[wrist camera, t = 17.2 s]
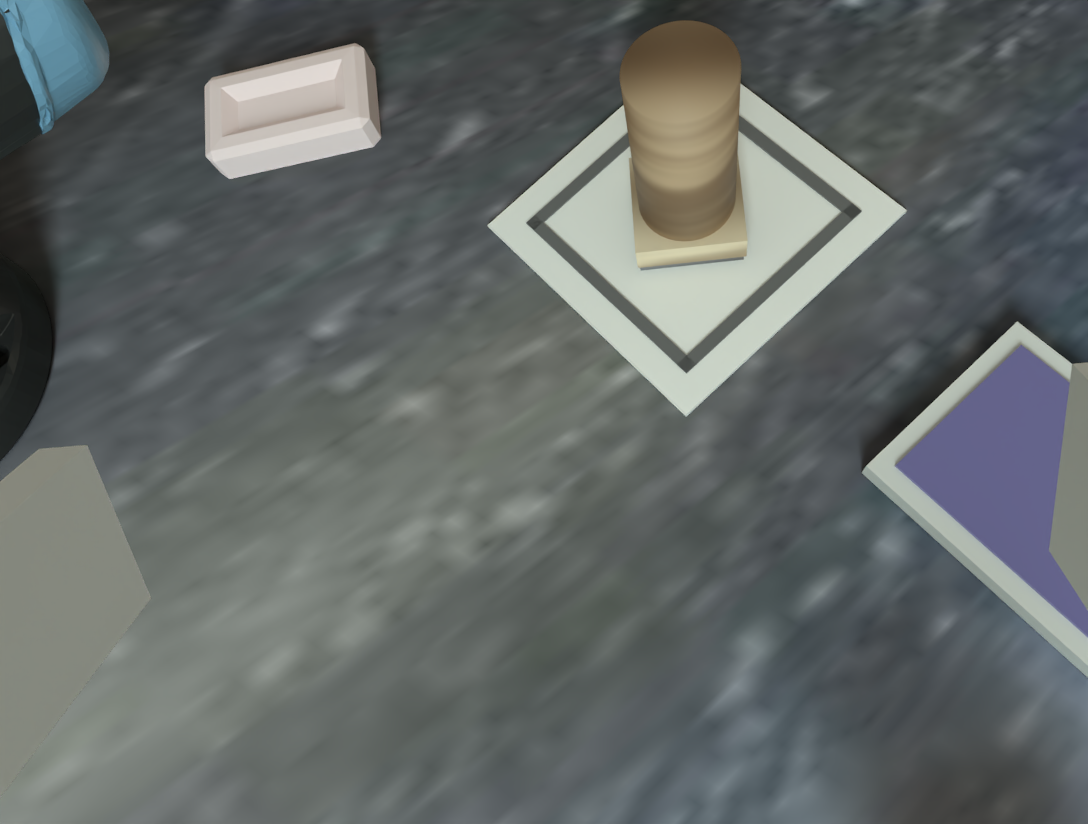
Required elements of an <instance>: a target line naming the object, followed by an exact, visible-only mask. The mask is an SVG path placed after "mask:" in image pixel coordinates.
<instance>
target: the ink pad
mask: <svg viewBox="0 0 1088 824" xmlns="http://www.w3.org/2000/svg"><path fill="white" fill-rule="evenodd" d="M1071 369H1072V364H1071V363H1070V362H1069V361H1068V360H1066V359H1065V358H1064V357H1062V356H1061V355H1060V354H1059V353H1057V352H1056V351H1055V350H1053V349H1052V348H1051V347H1049V346H1048V345H1047V344H1046V343H1044V342H1043V341H1042V340H1040V339H1039V338H1038V337H1037V336H1035V335H1034V334H1033V333H1031V332H1030V331H1029V330H1028V329H1026V328H1025V327H1024V326H1022V325H1021V324H1020V323H1019V322H1016V323H1015V324H1014V325H1013V326H1012V327H1011V328H1010V329H1009V330H1008V331H1007V332H1006V333H1005V334H1004V335H1003V336H1002V337H1000V338H999V339H998V340H997V341H996V342H995V343H994V344H993V345H992V346H991V347H990V348H989V349H988V350H987V351H986V352H985V353H984V354H983V355H982V356H981V357H980V358H978V359H977V360H976V361H975V362H974V363H973V364H972V365H971V366H970V367H969V368H968V369H967V370H966V371H965V372H964V373H963V374H962V375H961V376H960V377H959V378H958V379H957V380H955V381H954V382H953V383H952V384H951V385H950V386H949V387H948V388H947V389H946V390H945V391H944V392H943V393H942V394H941V395H940V396H939V397H938V398H937V399H936V400H935V401H934V402H932V403H931V404H930V405H929V406H928V407H927V408H926V409H925V410H924V411H923V412H922V413H921V414H920V415H919V416H918V417H917V418H916V419H915V420H914V421H913V422H912V423H911V424H909V425H908V426H907V427H906V428H905V429H904V430H903V431H902V432H901V433H900V434H899V435H898V436H897V437H896V438H895V439H894V440H893V441H892V442H891V443H890V444H889V445H887V446H886V447H885V448H884V449H883V450H882V451H881V452H880V453H879V454H878V455H877V456H876V457H875V458H874V459H873V460H872V461H871V462H870V463H869V464H868V465H867V466H866V467H865V468H864V470H863V472H862V474H863V475H865V476H866V477H867V478H868V479H869V480H870V481H871V482H872V483H873V484H874V485H876V486H877V487H878V488H879V489H880V490H881V491H882V492H883V493H884V494H886V495H887V496H888V497H889V498H890V499H891V500H892V501H893V502H894V503H895V504H897V505H898V506H899V507H900V508H901V509H902V510H903V511H904V512H905V513H906V514H908V515H909V516H910V517H911V518H912V519H913V520H914V521H915V522H916V523H918V524H919V525H920V526H921V527H922V528H923V529H924V530H925V531H926V532H927V533H929V534H930V535H931V536H932V537H933V538H934V539H935V540H936V541H937V542H939V543H940V544H941V545H942V546H943V547H944V548H945V549H946V550H947V551H948V552H950V553H951V554H952V555H953V556H954V557H955V558H956V559H957V560H958V561H959V562H961V563H962V564H963V565H964V566H965V567H966V568H967V569H968V570H969V571H971V572H972V573H973V574H974V575H975V576H976V577H977V578H978V579H979V580H980V581H982V582H983V583H984V584H985V585H986V586H987V587H988V588H989V589H990V590H992V591H993V592H994V593H995V594H996V595H997V596H998V597H999V598H1000V599H1001V600H1003V601H1004V602H1005V603H1006V604H1007V605H1008V606H1009V607H1010V608H1011V609H1013V610H1014V611H1015V612H1016V613H1017V614H1018V615H1019V616H1020V617H1021V618H1022V619H1024V620H1025V621H1026V622H1027V623H1028V624H1029V625H1030V626H1031V627H1032V628H1033V629H1035V630H1036V631H1037V632H1038V633H1039V634H1040V635H1041V636H1042V637H1043V638H1045V639H1046V640H1047V641H1048V642H1049V643H1050V644H1051V645H1052V646H1053V647H1054V648H1056V649H1057V650H1058V651H1059V652H1060V653H1061V654H1062V655H1063V656H1064V657H1066V658H1067V659H1068V660H1069V661H1070V662H1071V663H1072V664H1073V665H1074V666H1075V667H1077V668H1078V669H1079V670H1080V671H1081V672H1082V673H1083V674H1084V675H1085V676H1086V677H1088V610H1087V609H1086V607H1085V606H1084V604H1083V602H1082V601H1081V599H1080V598H1079V596H1078V595H1077V593H1076V592H1075V590H1074V589H1073V587H1072V585H1071V584H1070V582H1069V581H1068V579H1067V578H1066V576H1065V575H1064V573H1063V572H1062V570H1061V568H1060V567H1059V565H1058V564H1057V562H1056V561H1055V559H1054V558H1053V556H1052V555H1051V553H1050V551H1049V546H1050V538H1051V530H1052V522H1053V514H1054V506H1055V498H1056V489H1057V481H1058V473H1059V465H1060V457H1061V449H1062V441H1063V433H1064V425H1065V417H1066V409H1067V401H1068V393H1069V385H1070V377H1071Z"/></svg>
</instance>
